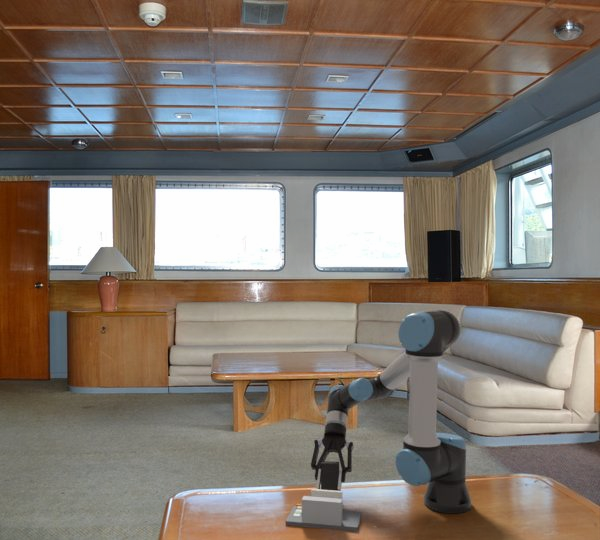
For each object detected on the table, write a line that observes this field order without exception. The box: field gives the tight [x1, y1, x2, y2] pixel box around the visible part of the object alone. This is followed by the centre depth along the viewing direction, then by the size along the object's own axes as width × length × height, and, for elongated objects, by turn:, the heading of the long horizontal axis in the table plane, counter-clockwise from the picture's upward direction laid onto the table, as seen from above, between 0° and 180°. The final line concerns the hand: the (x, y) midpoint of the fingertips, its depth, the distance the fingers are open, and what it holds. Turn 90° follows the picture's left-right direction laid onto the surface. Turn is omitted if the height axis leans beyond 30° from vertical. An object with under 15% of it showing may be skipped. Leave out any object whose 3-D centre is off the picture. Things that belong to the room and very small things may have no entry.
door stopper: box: [320, 460, 340, 491], centre depth 202 cm, size 9×6×12 cm, turn 175°
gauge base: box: [285, 495, 363, 532], centre depth 189 cm, size 22×12×8 cm, turn 78°
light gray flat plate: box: [295, 488, 343, 507], centre depth 194 cm, size 15×1×6 cm, turn 78°
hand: (328, 490), depth 198 cm, fingers closed on door stopper, 6 cm apart
